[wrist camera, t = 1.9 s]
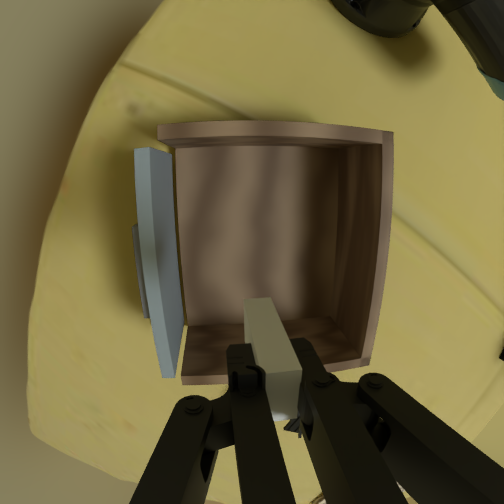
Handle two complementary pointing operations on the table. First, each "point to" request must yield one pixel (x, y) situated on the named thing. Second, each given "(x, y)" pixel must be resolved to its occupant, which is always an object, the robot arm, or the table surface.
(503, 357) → the typewriter
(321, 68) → the table surface
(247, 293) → the box
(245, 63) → the table surface
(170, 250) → the panel
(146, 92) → the table surface
